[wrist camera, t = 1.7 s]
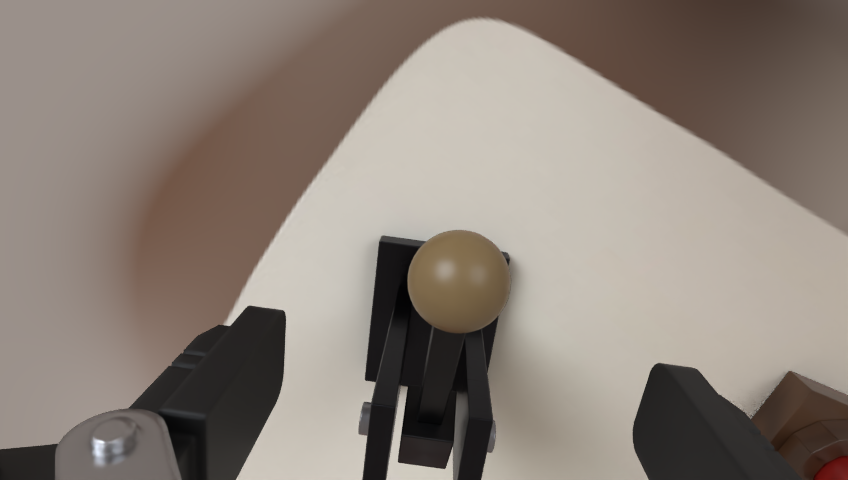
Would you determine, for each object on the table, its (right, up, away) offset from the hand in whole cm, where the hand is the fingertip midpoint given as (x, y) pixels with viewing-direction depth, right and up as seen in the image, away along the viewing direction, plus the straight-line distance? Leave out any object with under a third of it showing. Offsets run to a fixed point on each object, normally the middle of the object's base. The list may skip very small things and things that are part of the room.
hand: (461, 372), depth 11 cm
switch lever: (0, -1, +9) cm, 9 cm away
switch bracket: (0, -2, +22) cm, 22 cm away
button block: (+25, -11, +24) cm, 36 cm away
